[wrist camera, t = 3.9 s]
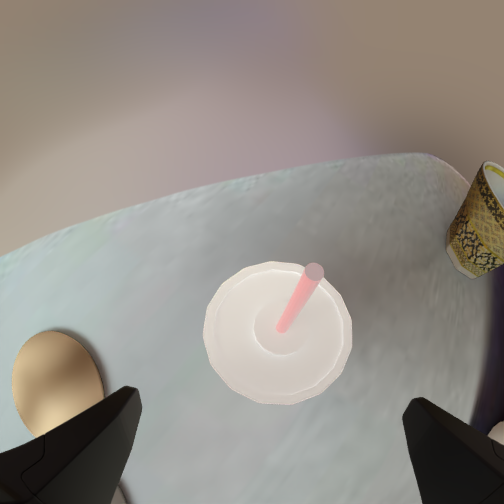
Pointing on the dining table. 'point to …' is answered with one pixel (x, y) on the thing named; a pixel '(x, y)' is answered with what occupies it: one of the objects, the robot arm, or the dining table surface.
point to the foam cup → (497, 433)
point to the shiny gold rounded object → (54, 381)
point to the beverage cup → (278, 332)
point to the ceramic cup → (479, 225)
